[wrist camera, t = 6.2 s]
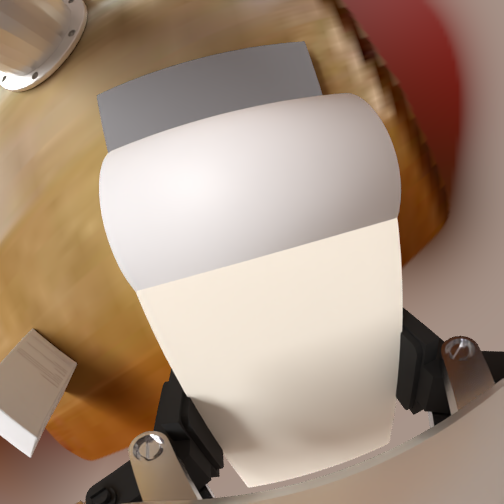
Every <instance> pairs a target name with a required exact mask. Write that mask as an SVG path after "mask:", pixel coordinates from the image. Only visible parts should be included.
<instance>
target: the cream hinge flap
mask: <svg viewBox="0 0 504 504" xmlns="http://www.w3.org/2000/svg"><path fill="white" fill-rule="evenodd" d="M99 195H100V206H101V213H102V218H103V223H104V227H105V231H106V234H107V238H108V241H109V244H110V247H111V249H112V252H113V254H114V257H115V259H116V261H117V263H118V265H119V267H120V269H121V271H122V273H123V274H124V276H125V278H126V279H127V281H128V282H129V284H130V285H131V287H132V288H133V289H134V290H135V291H136V294H137V296H138V298H139V301H140V303H141V305H142V308H143V310H144V312H145V315H146V317H147V319H148V321H149V323H150V326H151V328H152V330H153V332H154V334H155V336H156V338H157V340H158V342H159V345H160V347H161V349H162V351H163V353H164V355H165V357H166V359H167V360H168V362H169V364H170V366H171V368H172V370H173V372H174V374H175V376H176V377H177V379H178V381H179V383H180V385H181V387H182V388H183V390H184V392H185V394H186V395H187V397H190V398H191V400H192V401H193V403H194V405H195V407H196V408H197V410H198V412H199V413H200V415H201V417H202V418H203V420H204V422H205V423H206V425H207V427H208V428H209V430H210V431H211V433H212V434H213V436H214V438H215V439H216V441H217V442H218V444H219V445H220V447H221V448H222V450H223V454H224V455H225V457H226V458H227V460H228V461H229V462H230V464H231V465H232V467H233V468H234V469H235V470H236V472H237V473H238V475H239V476H240V477H241V478H242V480H243V481H244V483H245V484H246V485H247V486H248V487H255V486H260V485H265V484H270V483H275V482H279V481H284V480H288V479H292V478H296V477H300V476H303V475H307V474H310V473H314V472H317V471H320V470H323V469H326V468H329V467H332V466H335V465H338V464H341V463H344V462H346V461H349V460H352V459H354V458H357V457H359V456H362V455H364V454H367V453H369V452H371V451H373V450H376V449H378V448H380V447H382V446H384V445H387V444H389V442H390V437H391V432H392V426H393V420H394V414H395V408H396V400H397V398H396V388H397V379H398V368H399V354H400V334H401V332H402V318H403V300H402V299H403V298H402V297H403V296H402V267H401V251H400V239H399V229H398V220H397V217H398V213H399V208H400V201H401V179H400V172H399V165H398V161H397V157H396V153H395V150H394V147H393V144H392V141H391V139H390V136H389V134H388V132H387V130H386V128H385V126H384V124H383V122H382V121H381V119H380V118H379V116H378V115H377V113H376V112H375V111H374V110H373V108H372V107H371V106H370V105H369V104H368V103H367V102H365V101H364V100H363V99H362V98H360V97H358V96H356V95H354V94H351V93H340V94H330V95H321V96H313V97H306V98H299V99H292V100H286V101H280V102H275V103H269V104H264V105H259V106H254V107H250V108H245V109H241V110H236V111H232V112H228V113H224V114H220V115H216V116H212V117H209V118H205V119H201V120H198V121H194V122H191V123H188V124H184V125H181V126H178V127H175V128H172V129H169V130H166V131H163V132H160V133H157V134H154V135H151V136H148V137H146V138H143V139H140V140H138V141H135V142H132V143H130V144H127V145H125V146H122V147H120V148H117V149H115V150H112V151H110V152H109V153H108V154H107V155H106V157H105V158H104V161H103V163H102V167H101V171H100V180H99Z"/></svg>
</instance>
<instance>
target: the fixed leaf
mask: <svg viewBox="0 0 504 504" xmlns="http://www.w3.org/2000/svg"><path fill="white" fill-rule="evenodd" d="M321 95H322V92H321V89H320V85H319V82H318V79H317V76H316V73H315V70H314V67H313V64H312V61H311V58H310V55H309V52H308V50H307V47H306V44H305V42H304V41H303V42H291V43H281V44H272V45H265V46H258V47H251V48H245V49H240V50H234V51H229V52H225V53H220V54H215V55H211V56H207V57H203V58H199V59H195V60H191V61H188V62H184V63H181V64H177V65H174V66H171V67H168V68H165V69H162V70H159V71H156V72H153V73H150V74H147V75H144V76H142V77H139V78H136V79H134V80H131V81H129V82H126V83H124V84H121V85H119V86H116V87H114V88H112V89H110V90H107V91H105V92H103V93H101V94H99V95H97V100H98V106H99V111H100V116H101V122H102V127H103V131H104V136H105V141H106V145H107V149H108V153H109V152H110V151H112V150H115V149H117V148H120V147H122V146H125V145H127V144H130V143H132V142H135V141H138V140H140V139H143V138H146V137H148V136H151V135H154V134H157V133H160V132H163V131H166V130H169V129H172V128H175V127H178V126H181V125H184V124H188V123H191V122H194V121H198V120H201V119H205V118H209V117H212V116H216V115H220V114H224V113H228V112H232V111H236V110H241V109H245V108H250V107H254V106H259V105H264V104H269V103H275V102H280V101H286V100H292V99H299V98H306V97H313V96H321Z"/></svg>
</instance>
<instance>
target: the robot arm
mask: <svg viewBox="0 0 504 504" xmlns="http://www.w3.org/2000/svg"><path fill="white" fill-rule="evenodd" d="M87 13H88V12H87V7H86V5H85V3H84V1H83V0H0V84H1V86H2V87H4V88H5V89H7V90H10V91H14V92H21V91H26V90H28V89H31V88H33V87H35V86H37V85H38V84H40V83H42V82H43V81H44V80H45V79H47V78H48V77H49V76H51V75H52V74H53V73H54V72H55V71H56V70H57V69H58V68H59V67H60V66H61V65H62V63H63V62H64V61H65V60H66V59H67V58H68V56H69V55H70V53H71V52H72V51H73V49H74V48H75V46H76V45H77V43H78V41H79V39H80V38H81V35H82V33H83V31H84V29H85V25H86V22H87ZM396 398H397V399H398V400H399V402H400V403H401V405H402V406H403V407H404V408H405V409H406V410H408V409H410V410H411V412H412V413H413V414H416V413H418V412H419V411H421V410H423V409H424V411H428V416H429V423H430V429H428V430H427V431H425V432H423V433H421V434H420V435H418V436H416V437H414V438H412V439H411V440H409V441H407V442H405V443H403V444H401V445H399V446H397V447H395V448H393V449H391V450H388V451H386V452H384V453H382V454H380V455H378V456H376V457H373V458H371V459H369V460H366V461H364V462H361V463H358V464H356V465H353V466H351V467H349V468H345V469H343V470H340V471H337V472H334V473H331V474H328V475H325V476H322V477H319V478H316V479H312V480H309V481H305V482H301V483H298V484H294V485H290V486H285V487H281V488H277V489H272V490H267V491H262V492H257V493H251V494H245V495H238V496H231V497H222V498H215V496H214V494H213V493H212V491H211V490H210V488H209V486H208V485H207V483H208V482H209V481H210V480H211V477H219V469H221V468H223V467H224V464H223V450H222V448H221V447H220V445H219V444H218V442H217V441H216V439H215V438H214V436H213V434H212V433H211V431H210V430H209V428H208V427H207V425H206V423H205V422H204V420H203V418H202V417H201V415H200V413H199V412H198V410H197V408H196V407H195V405H194V403H193V401H192V400H191V398H190V397H187V395H186V394H185V392H184V390H183V388H182V387H181V385H180V383H179V381H178V379H177V377H176V376H175V374H174V372H173V370H172V368H171V373H170V378H169V381H168V382H165V383H164V385H163V388H162V392H161V397H160V402H159V406H158V411H157V416H156V421H155V426H154V431H149V432H145V433H142V434H140V435H139V436H137V437H136V438H135V439H134V440H133V441H132V442H131V444H130V446H129V450H128V451H129V457H130V460H129V461H128V462H127V463H125V464H124V465H122V466H121V467H120V468H118V469H117V470H115V471H114V472H113V473H111V474H110V475H108V476H107V477H105V478H104V479H102V480H101V481H99V482H98V483H96V484H95V485H93V486H92V487H91V488H90V489H89V491H88V492H87V495H86V501H85V502H82V501H79V502H78V503H76V504H504V352H494V351H490V352H489V351H481V350H480V348H479V346H478V344H477V343H476V342H475V341H474V340H473V339H471V338H469V337H465V336H455V337H452V338H449V339H448V340H446V341H445V342H444V341H443V340H442V339H440V338H439V337H438V336H437V335H436V334H435V333H433V332H432V331H431V330H430V329H429V328H427V327H426V326H425V325H424V324H423V323H421V322H420V321H419V320H418V319H416V318H415V317H414V316H413V315H412V314H410V313H409V312H408V311H407V310H405V309H404V308H403V318H402V332H401V334H400V354H399V368H398V379H397V388H396Z"/></svg>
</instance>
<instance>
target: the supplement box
mask: <svg viewBox="0 0 504 504" xmlns="http://www.w3.org/2000/svg"><path fill="white" fill-rule="evenodd" d="M76 365H77V363H76V362H75V361H73V360H72V359H70V358H69V357H68V356H66V355H65V354H64V353H62V352H61V351H60V350H58V349H57V348H56V347H55V346H53V345H52V344H51V343H50V342H48V341H47V340H46V339H45V338H44V337H42V336H41V335H40V334H39V333H38V332H36V331H35V330H34V329H32V330H31V331H30V332H29V333H28V334H27V335H26V336H25V337H24V338H23V339H22V340H21V341H20V342H19V343H18V344H17V345H16V346H15V347H14V349H13V350H12V351H11V352H10V353H9V354H8V355H7V356H6V357H5V358H4V360H3V361H2V362H1V363H0V435H1V436H2V437H4V438H5V439H6V440H7V441H9V442H10V443H11V444H12V445H14V446H15V447H16V448H18V449H19V450H20V451H22V452H23V453H25V454H26V455H27V456H29V457H30V458H31V456H32V454H33V452H34V450H35V448H36V445H37V443H38V441H39V439H40V437H41V435H42V433H43V431H44V429H45V427H46V425H47V423H48V421H49V419H50V417H51V415H52V414H53V412H54V410H55V408H56V406H57V405H58V403H59V401H60V399H61V397H62V396H63V394H64V391H65V389H66V387H67V385H68V383H69V381H70V378H71V376H72V374H73V372H74V370H75V368H76Z"/></svg>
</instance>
